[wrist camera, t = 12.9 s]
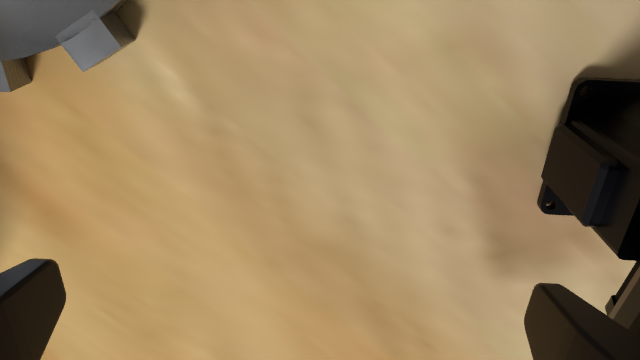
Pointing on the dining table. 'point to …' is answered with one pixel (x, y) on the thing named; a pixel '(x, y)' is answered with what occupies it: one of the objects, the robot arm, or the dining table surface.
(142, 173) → the dining table surface
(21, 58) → the sprocket plate
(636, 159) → the robot arm
